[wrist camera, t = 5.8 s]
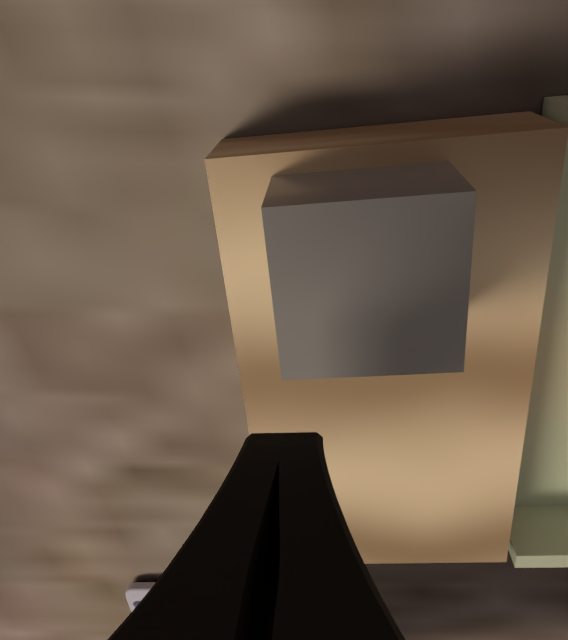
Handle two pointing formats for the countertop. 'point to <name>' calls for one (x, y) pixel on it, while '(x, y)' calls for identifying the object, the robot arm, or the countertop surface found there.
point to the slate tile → (370, 270)
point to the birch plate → (419, 389)
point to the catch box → (547, 407)
